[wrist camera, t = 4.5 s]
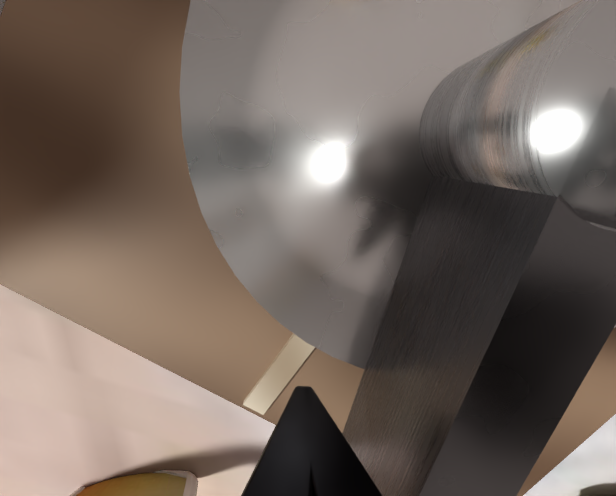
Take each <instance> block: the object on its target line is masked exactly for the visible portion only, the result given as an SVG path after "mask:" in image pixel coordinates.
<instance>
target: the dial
mask: <svg viewBox="0 0 616 496" xmlns="http://www.w3.org/2000/svg"><path fill="white" fill-rule="evenodd" d="M179 93H180V109H181V125H182V137H183V143H184V148H185V153H186V159H187V164H188V169H189V175H190V178H191V181H192V185H193V188H194V191H195V194H196V197H197V200H198V203H199V207H200V210H201V213H202V215H203V217H204V219H205V221H206V224H207V226H208V228H209V230H210V232H211V234H212V237H213V239H214V241H215V243H216V245H217V247H218V249H219V250H220V252H221V253H222V255H223V257H224V258H225V260H226V261H227V263H228V265H229V266H230V268H231V269H232V271H233V272H234V274H235V276H236V277H237V278H238V279H239V281H240V282H241V283H242V284H243V285H244V287H245V288H246V289H247V290H248V291H249V293H250V294H251V295H252V296H253V298H254V299H255V300H256V301H257V302H258V303H259V304H260V305H261V306H262V307H263V308H264V309H265V310H266V311H267V312H268V313H269V314H271V315H272V316H273V317H274V318H275V319H276V320H277V321H278V322H279V323H280V324H281V325H283V326H284V327H286V328H287V329H288V330H290V331H291V332H292V333H294V334H295V335H297V336H298V337H299V338H301V339H302V340H303V341H305V342H306V343H308V344H310V345H312V346H314V347H315V348H317V349H319V350H321V351H323V352H325V353H326V354H328V355H330V356H332V357H334V358H337V359H339V360H342V361H344V362H347V363H349V364H352V365H354V366H357V367H359V368H362V369H364V372H363V375H362V378H361V381H360V384H359V387H358V389H357V392H356V395H355V398H354V401H353V404H352V407H351V410H350V413H349V415H348V418H347V421H346V424H345V427H344V430H343V433H342V434H343V436H344V437H345V439H346V440H347V442H348V443H349V445H350V446H351V448H352V450H353V451H354V453H355V454H356V456H357V457H358V459H359V460H360V462H361V463H362V465H363V466H364V468H365V469H366V471H367V473H368V474H369V476H370V477H371V479H372V480H373V482H374V483H375V485H376V486H377V488H378V489H379V491H380V493H381V494H382V496H517V494H518V492H519V491H520V489H521V487H522V485H523V484H524V482H525V480H526V478H527V477H528V475H529V473H530V472H531V470H532V468H533V466H534V465H535V463H536V461H537V459H538V458H539V456H540V454H541V453H542V451H543V449H544V447H545V446H546V444H547V442H548V440H549V439H550V437H551V435H552V434H553V432H554V430H555V428H556V427H557V425H558V423H559V421H560V420H561V418H562V416H563V415H564V413H565V411H566V409H567V408H568V406H569V404H570V402H571V401H572V399H573V397H574V396H575V394H576V392H577V390H578V389H579V387H580V385H581V383H582V382H583V380H584V378H585V377H586V375H587V373H588V371H589V370H590V368H591V366H592V364H593V363H594V361H595V359H596V358H597V356H598V354H599V352H600V351H601V349H602V347H603V345H604V344H605V342H606V340H607V339H608V337H609V335H610V333H611V332H612V330H613V329H614V328H615V327H616V0H191V1H190V6H189V12H188V17H187V23H186V28H185V34H184V39H183V45H182V58H181V75H180V92H179Z"/></svg>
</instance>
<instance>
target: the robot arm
mask: <svg viewBox="0 0 616 496" xmlns="http://www.w3.org/2000/svg"><path fill="white" fill-rule="evenodd" d="M241 496H382V494H381V493H380V491H379V489H378V488H377V486H376V485H375V483H374V482H373V480H372V479H371V477H370V476H369V474H368V473H367V471H366V469H365V468H364V466H363V465H362V463H361V462H360V460H359V459H358V457H357V456H356V454H355V453H354V451H353V450H352V448H351V446H350V445H349V443H348V442H347V440H346V439H345V437H344V436H343V434H342V433H341V431H340V430H339V428H338V427H337V425H336V423H335V422H334V420H333V419H332V417H331V416H330V414H329V413H328V411H327V410H326V408H325V407H324V405H323V404H322V402H321V400H320V399H319V397H318V396H317V394H316V393H315V391H314V390H313V388H312V387H310V386H296V387H295V388H294V390H293V392H292V394H291V396H290V398H289V400H288V402H287V404H286V406H285V408H284V410H283V412H282V414H281V416H280V419H279V421H278V423H277V425H276V427H275V429H274V431H273V433H272V435H271V437H270V439H269V441H268V443H267V445H266V447H265V449H264V451H263V453H262V455H261V457H260V459H259V461H258V463H257V465H256V467H255V469H254V471H253V473H252V475H251V477H250V479H249V481H248V483H247V485H246V487H245V489H244V491H243V493H242V495H241Z"/></svg>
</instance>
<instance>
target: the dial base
mask: <svg viewBox="0 0 616 496" xmlns="http://www.w3.org/2000/svg"><path fill="white" fill-rule="evenodd" d="M190 1H191V0H6V2H5V5H4V7H3V10H2V13H1V16H0V284H1V285H3V286H5V287H7V288H9V289H11V290H13V291H15V292H16V293H18V294H20V295H22V296H24V297H26V298H28V299H30V300H32V301H34V302H36V303H38V304H40V305H42V306H44V307H46V308H48V309H50V310H52V311H54V312H56V313H58V314H60V315H62V316H63V317H65V318H67V319H69V320H71V321H73V322H75V323H77V324H79V325H81V326H83V327H85V328H87V329H89V330H91V331H93V332H95V333H97V334H99V335H101V336H103V337H105V338H107V339H109V340H111V341H112V342H114V343H116V344H118V345H120V346H122V347H124V348H126V349H128V350H130V351H132V352H134V353H136V354H138V355H140V356H142V357H144V358H146V359H148V360H150V361H152V362H154V363H156V364H158V365H160V366H161V367H163V368H165V369H167V370H169V371H171V372H173V373H175V374H177V375H179V376H181V377H183V378H185V379H187V380H189V381H191V382H193V383H195V384H197V385H199V386H201V387H203V388H205V389H207V390H208V391H210V392H212V393H214V394H216V395H218V396H220V397H222V398H224V399H226V400H228V401H230V402H232V403H234V404H236V405H238V406H240V407H242V408H244V409H246V410H248V411H250V412H252V413H254V414H256V415H257V416H259V417H261V418H263V419H265V420H267V421H269V422H271V423H273V424H275V425H277V423H278V421H279V419H280V416H281V414H282V412H283V410H284V408H285V406H286V404H287V402H288V400H289V398H290V396H291V394H292V392H293V390H294V388H295V387H296V386H310V387H312V388H313V390H314V391H315V393H316V394H317V396H318V397H319V399H320V400H321V402H322V404H323V405H324V407H325V408H326V410H327V411H328V413H329V414H330V416H331V417H332V419H333V420H334V422H335V423H336V425H337V427H338V428H339V430H340V431H341V433H343V430H344V427H345V424H346V421H347V418H348V415H349V413H350V410H351V407H352V404H353V401H354V398H355V395H356V392H357V389H358V387H359V384H360V381H361V378H362V375H363V372H364V369H362V368H359V367H357V366H354V365H352V364H349V363H347V362H344V361H342V360H339V359H337V358H334V357H332V356H330V355H328V354H326V353H325V352H323V351H321V350H319V349H317V348H315V347H314V346H312V345H310V344H308V343H306V342H305V341H303V340H302V339H301V338H299V337H298V336H297V335H295V334H294V333H292V332H291V331H290V330H288V329H287V328H286V327H284V326H283V325H281V324H280V323H279V322H278V321H277V320H276V319H275V318H274V317H273V316H272V315H271V314H269V313H268V312H267V311H266V310H265V309H264V308H263V307H262V306H261V305H260V304H259V303H258V302H257V301H256V300H255V299H254V298H253V296H252V295H251V294H250V293H249V291H248V290H247V289H246V288H245V287H244V285H243V284H242V283H241V282H240V281H239V279H238V278H237V277H236V276H235V274H234V272H233V271H232V269H231V268H230V266H229V265H228V263H227V261H226V260H225V258H224V257H223V255H222V253H221V252H220V250H219V249H218V247H217V245H216V243H215V241H214V239H213V237H212V234H211V232H210V230H209V228H208V226H207V224H206V221H205V219H204V217H203V215H202V213H201V210H200V207H199V203H198V200H197V197H196V194H195V191H194V188H193V185H192V181H191V178H190V175H189V169H188V164H187V159H186V153H185V148H184V143H183V137H182V125H181V109H180V93H179V92H180V75H181V58H182V45H183V39H184V34H185V28H186V23H187V17H188V12H189V6H190ZM615 414H616V327H615V328H614V329H613V330H612V332H611V333H610V335H609V337H608V339H607V340H606V342H605V344H604V345H603V347H602V349H601V351H600V352H599V354H598V356H597V358H596V359H595V361H594V363H593V364H592V366H591V368H590V370H589V371H588V373H587V375H586V377H585V378H584V380H583V382H582V383H581V385H580V387H579V389H578V390H577V392H576V394H575V396H574V397H573V399H572V401H571V402H570V404H569V406H568V408H567V409H566V411H565V413H564V415H563V416H562V418H561V420H560V421H559V423H558V425H557V427H556V428H555V430H554V432H553V434H552V435H551V437H550V439H549V440H548V442H547V444H546V446H545V447H544V449H543V451H542V453H541V454H540V456H539V458H538V459H537V461H536V463H535V465H534V466H533V468H532V470H531V472H530V473H529V475H528V477H527V478H526V480H525V482H524V484H523V485H522V487H521V489H520V491H519V492H518V494H517V496H523V495H524V494H525V493H526V492H527V491H528V490H529V489H531V488H532V487H533V486H534V485H535V484H536V483H537V482H539V481H540V480H541V479H542V478H543V477H544V476H545V475H546V474H548V473H549V472H550V471H551V470H552V469H553V468H554V467H556V466H557V465H558V464H559V463H560V462H561V461H562V460H564V459H565V458H566V457H567V456H568V455H569V454H570V453H571V452H573V451H574V450H575V449H576V448H577V447H578V446H579V445H581V444H582V443H583V442H584V441H585V440H586V439H587V438H588V437H590V436H591V435H592V434H593V433H594V432H595V431H596V430H598V429H599V428H600V427H601V426H602V425H603V424H604V423H606V422H607V421H608V420H609V419H610V418H611V417H612V416H613V415H615Z"/></svg>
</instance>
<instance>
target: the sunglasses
mask: <svg viewBox="0 0 616 496" xmlns="http://www.w3.org/2000/svg"><path fill="white" fill-rule="evenodd" d="M197 487H198V480H197V478H196V476H195V475H194V474H192V473H191V472H190V471H178V470H160V471H157V472H153V473H141V474H135V475H129V476H123V477H118V478H114V479H110V480H106V481H103V482H100V483H97V484H94V485H91V486H89V487H84V486H82V487H80V488H79V489H77V490H76V491H75V492H74V493H72V494H71V495H70V496H196V495H197Z"/></svg>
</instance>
